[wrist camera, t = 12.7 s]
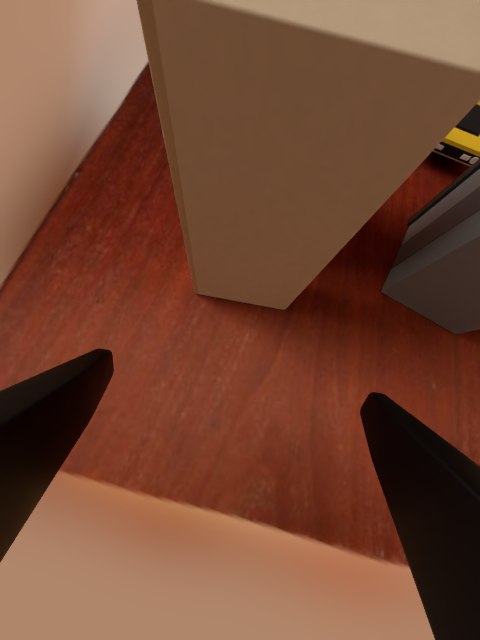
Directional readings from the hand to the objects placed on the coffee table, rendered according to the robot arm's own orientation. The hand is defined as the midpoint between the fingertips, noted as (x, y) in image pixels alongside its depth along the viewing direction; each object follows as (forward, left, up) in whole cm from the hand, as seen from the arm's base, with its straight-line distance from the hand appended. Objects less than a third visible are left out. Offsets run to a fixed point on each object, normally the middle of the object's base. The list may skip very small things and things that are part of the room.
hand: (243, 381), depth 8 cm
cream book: (+7, +1, -8) cm, 11 cm away
